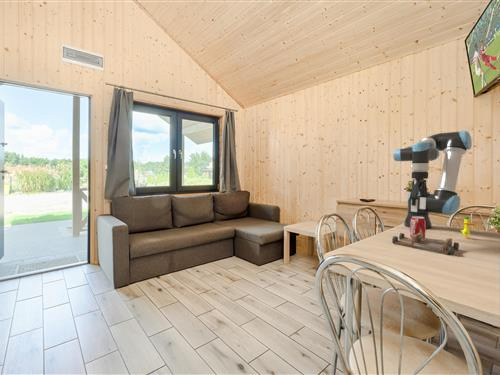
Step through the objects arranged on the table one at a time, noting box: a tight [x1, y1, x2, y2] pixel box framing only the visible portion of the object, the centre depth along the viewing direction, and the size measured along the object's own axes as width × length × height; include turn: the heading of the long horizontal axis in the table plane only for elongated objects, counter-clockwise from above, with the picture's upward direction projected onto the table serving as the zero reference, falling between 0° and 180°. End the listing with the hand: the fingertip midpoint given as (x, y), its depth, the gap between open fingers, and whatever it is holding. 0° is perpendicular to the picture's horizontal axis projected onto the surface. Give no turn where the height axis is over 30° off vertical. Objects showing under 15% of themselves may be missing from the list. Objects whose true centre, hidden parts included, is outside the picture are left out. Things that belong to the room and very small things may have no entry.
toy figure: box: [460, 216, 478, 240], centre depth 139 cm, size 7×4×12 cm, turn 48°
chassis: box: [391, 232, 460, 256], centre depth 127 cm, size 13×25×5 cm, turn 40°
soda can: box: [409, 216, 427, 240], centre depth 140 cm, size 7×7×12 cm
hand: (418, 210), depth 140 cm, fingers open, 13 cm apart
